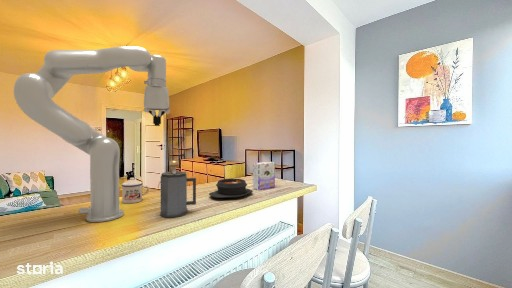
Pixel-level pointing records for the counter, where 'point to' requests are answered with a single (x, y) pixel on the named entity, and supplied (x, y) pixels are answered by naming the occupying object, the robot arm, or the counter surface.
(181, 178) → the coffee press
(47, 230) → the counter surface
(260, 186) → the candy box
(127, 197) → the teacup with lid
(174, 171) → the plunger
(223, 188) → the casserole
